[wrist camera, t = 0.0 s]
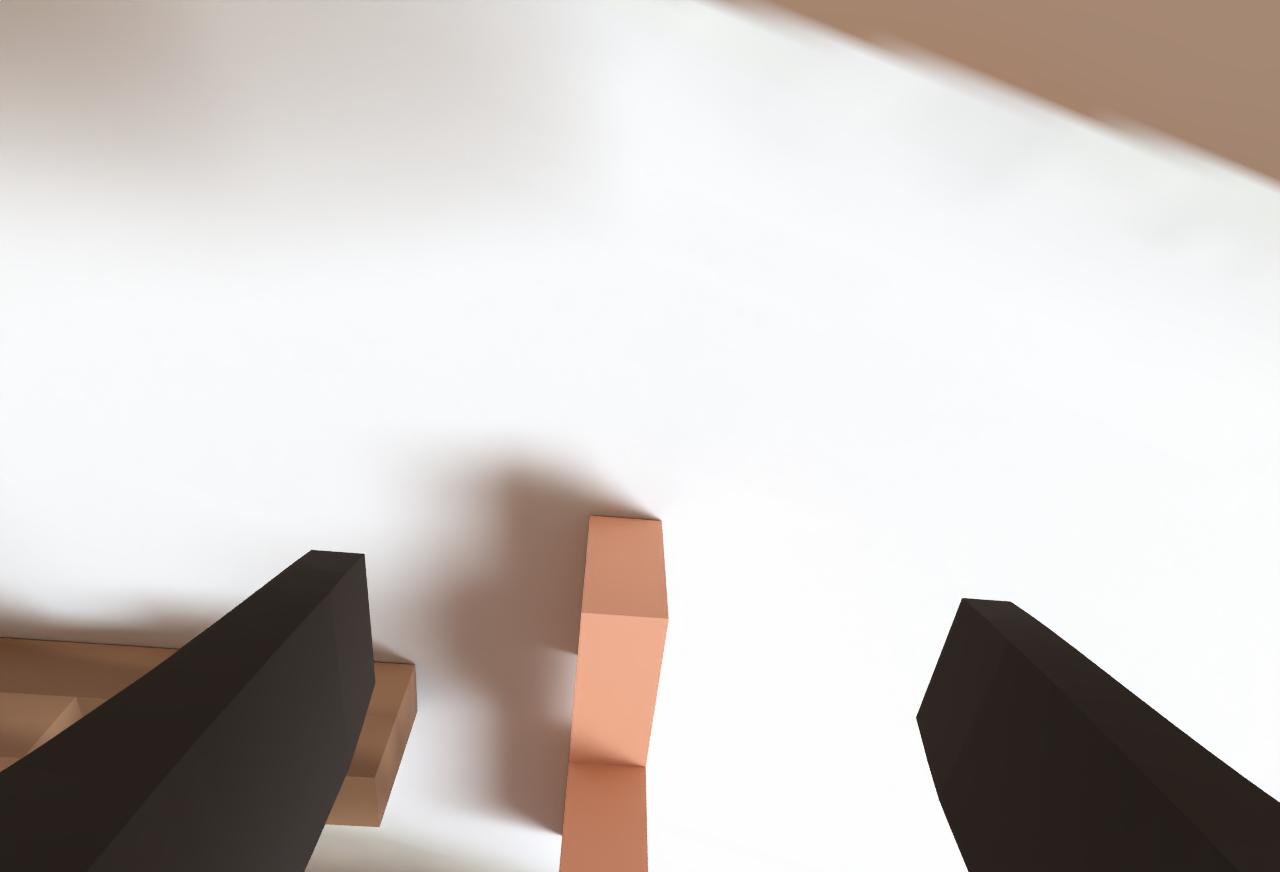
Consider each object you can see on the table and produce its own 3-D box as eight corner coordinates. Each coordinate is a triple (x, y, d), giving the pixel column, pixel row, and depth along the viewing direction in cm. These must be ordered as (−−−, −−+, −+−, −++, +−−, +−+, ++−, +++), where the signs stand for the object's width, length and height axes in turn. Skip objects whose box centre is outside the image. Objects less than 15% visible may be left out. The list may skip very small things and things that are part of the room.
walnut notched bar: (417, 710, 23) (379, 827, 20) (-39, 682, 23) (-164, 798, 19) (415, 664, 23) (374, 777, 19) (-61, 633, 22) (-196, 745, 18)
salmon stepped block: (617, 839, 27) (613, 1077, 20) (562, 836, 26) (541, 1075, 20) (661, 521, 20) (675, 724, 14) (589, 515, 20) (571, 718, 14)
